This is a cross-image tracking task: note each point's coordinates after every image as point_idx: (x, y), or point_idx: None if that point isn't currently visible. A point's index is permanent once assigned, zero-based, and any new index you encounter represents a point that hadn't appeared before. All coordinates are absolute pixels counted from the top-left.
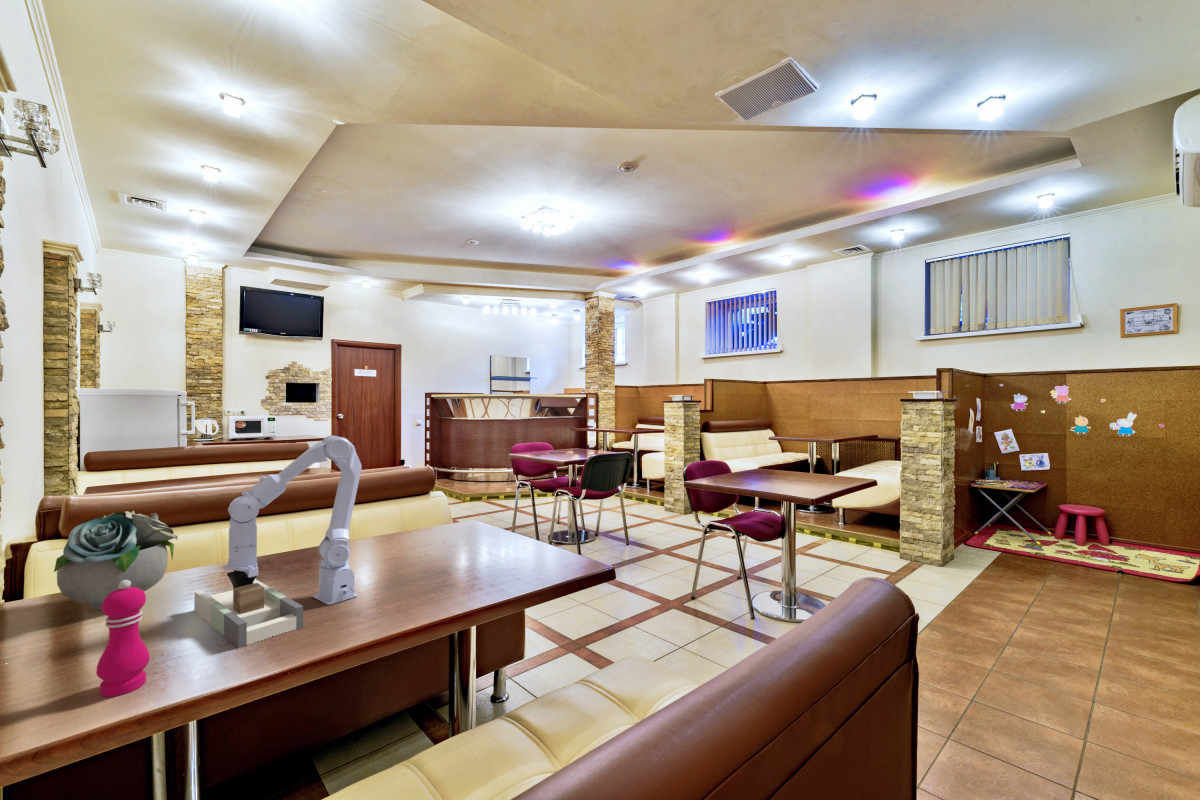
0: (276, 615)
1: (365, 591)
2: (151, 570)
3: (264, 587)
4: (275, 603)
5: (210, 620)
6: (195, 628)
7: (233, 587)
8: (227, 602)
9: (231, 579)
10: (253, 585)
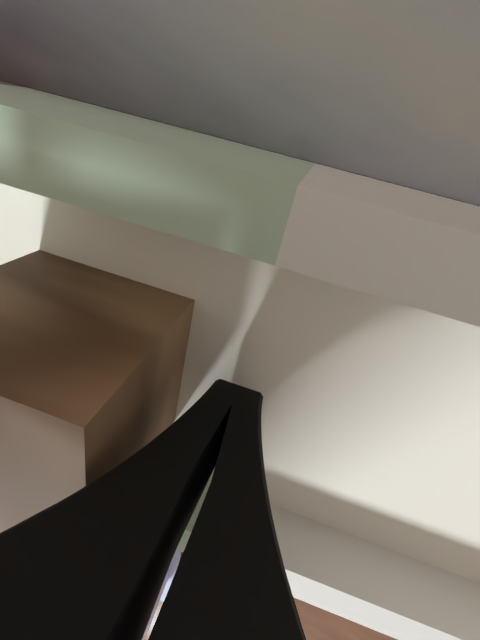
0: None
1: None
2: None
3: None
4: None
5: (317, 167)
6: (369, 50)
7: (255, 490)
8: (395, 382)
9: (171, 610)
10: (24, 519)
